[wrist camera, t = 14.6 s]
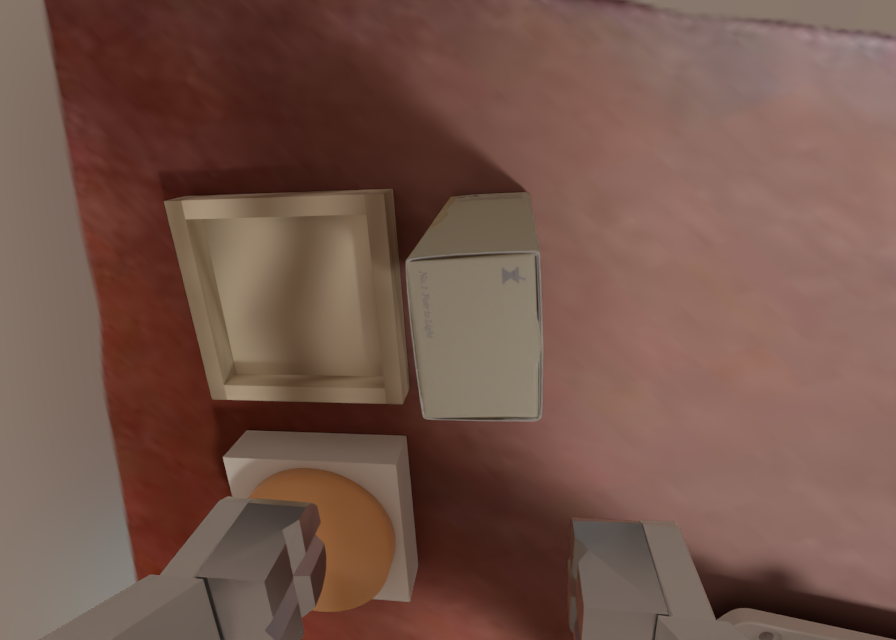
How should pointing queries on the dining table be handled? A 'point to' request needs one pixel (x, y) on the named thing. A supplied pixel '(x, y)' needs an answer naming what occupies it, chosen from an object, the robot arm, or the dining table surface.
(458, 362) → the skincare box
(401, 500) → the white square base
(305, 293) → the beige soap dish
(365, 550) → the button
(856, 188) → the dining table surface
